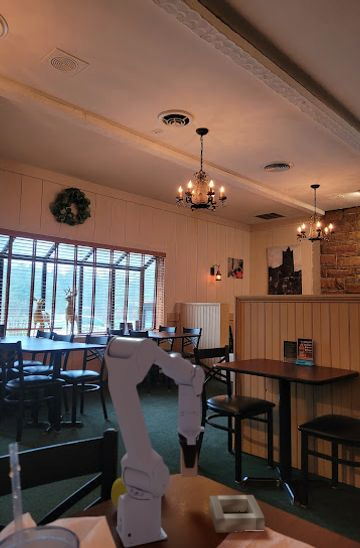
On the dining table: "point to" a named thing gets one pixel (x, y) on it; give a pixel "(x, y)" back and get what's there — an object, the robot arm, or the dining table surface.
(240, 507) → the collar
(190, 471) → the peg
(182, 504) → the dining table surface
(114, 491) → the lemon
